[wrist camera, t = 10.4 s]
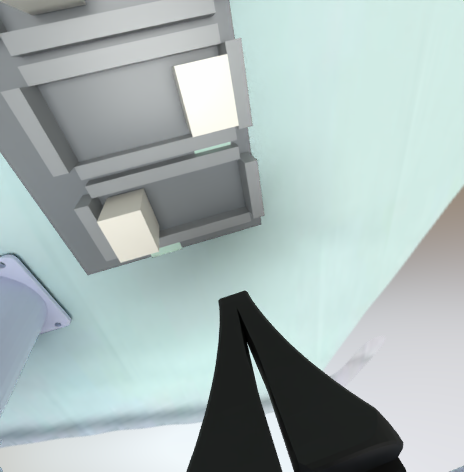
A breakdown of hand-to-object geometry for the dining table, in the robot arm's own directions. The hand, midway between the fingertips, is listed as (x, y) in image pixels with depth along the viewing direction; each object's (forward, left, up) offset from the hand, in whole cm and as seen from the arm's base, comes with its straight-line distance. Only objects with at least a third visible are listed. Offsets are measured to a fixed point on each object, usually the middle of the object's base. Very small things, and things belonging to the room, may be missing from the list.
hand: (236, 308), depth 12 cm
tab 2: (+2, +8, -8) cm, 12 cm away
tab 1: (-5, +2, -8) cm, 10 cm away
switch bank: (-3, +8, -10) cm, 13 cm away
